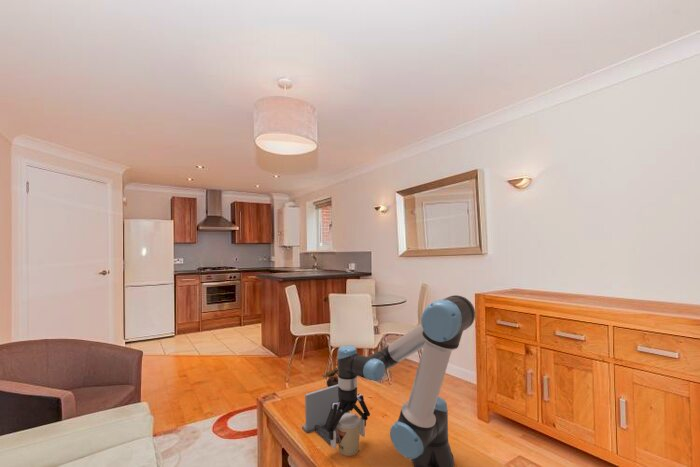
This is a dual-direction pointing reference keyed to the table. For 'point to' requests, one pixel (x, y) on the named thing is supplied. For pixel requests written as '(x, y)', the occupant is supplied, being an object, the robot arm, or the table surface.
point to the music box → (334, 379)
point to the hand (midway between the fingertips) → (348, 441)
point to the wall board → (319, 407)
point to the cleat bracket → (325, 434)
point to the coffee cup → (348, 434)
